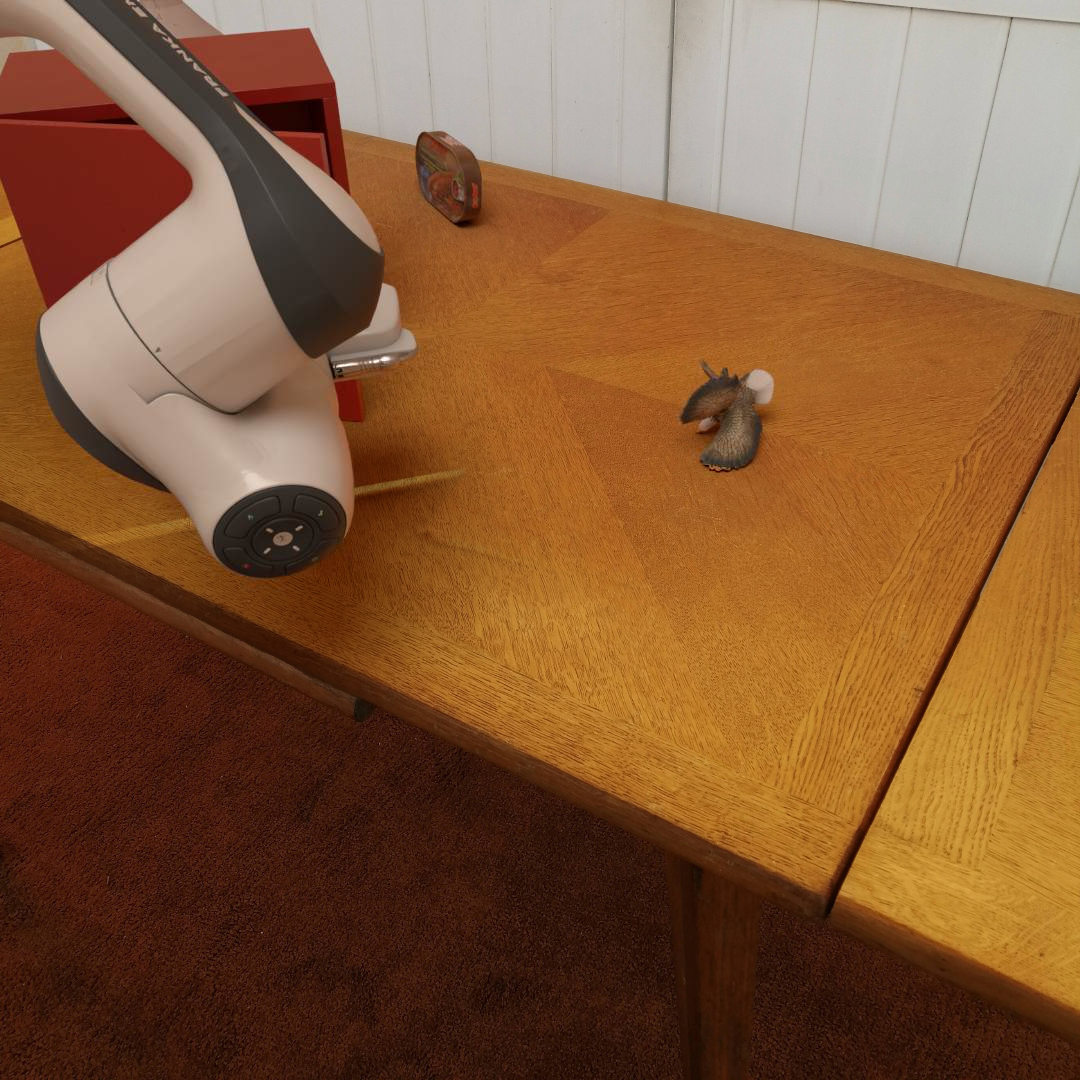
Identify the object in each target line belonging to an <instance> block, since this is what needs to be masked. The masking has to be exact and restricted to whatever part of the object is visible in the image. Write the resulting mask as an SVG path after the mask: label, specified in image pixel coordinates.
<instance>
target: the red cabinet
mask: <svg viewBox="0 0 1080 1080" xmlns="http://www.w3.org/2000/svg"><path fill="white" fill-rule="evenodd" d="M177 40H178V41H179V42H180V43H181V44H182V45H183V46H184V47H185V48H186V49H188V50H189V51H190V52H191V53H192V54H193V55H194V56H195V57H196V58H197V59H198V60H199V61H200V62H201V63H202V64H203V65H204V66H205V67H206V68H207V69H208V70H209V71H210V72H211V73H212V74H213V75H214V76H215V77H216V78H217V79H218V80H219V81H220V82H221V83H222V84H223V85H224V86H225V87H227V88H228V89H229V90H230V91H231V92H232V93H233V94H234V95H235V96H236V97H237V98H238V99H239V100H240V101H241V102H242V103H243V104H244V105H245V106H246V107H247V108H248V109H249V110H250V111H251V112H252V113H253V114H254V115H255V116H256V117H258V118H259V119H260V120H261V121H262V122H263V123H264V124H265V125H266V126H267V127H268V128H269V129H270V130H271V131H283V132H306V133H324V138H325V145H326V152H327V159H328V165H329V172H330V177H331V178H332V179H333V180H334V181H335V182H336V183H337V184H338V185H340V186H341V187H342V188H343V189H344V190H345V191H346V192H347V193H348V195H349V196H350V197H351V189H350V182H349V181H350V180H349V174H348V167H347V160H346V152H345V145H344V137H343V131H342V123H341V116H340V109H339V107H340V106H339V100H338V93H337V86H336V85H337V84H336V81H335V79H334V77H333V75H332V73H331V70H330V68H329V65H328V63H327V62H326V60H325V58H324V56H323V54H322V52H321V50H320V49H321V48H320V47H319V45H318V43H317V41H316V39H315V37H314V35H313V33H312V30H311V28H310V27H301V28H289V29H277V30H265V31H255V32H243V33H231V34H229V33H228V34H224V35H217V36H205V37H193V38H181V39H177ZM0 119H10V120H33V121H56V122H78V123H101V124H124V125H139V124H138V123H136V122H135V121H134V120H133V119H132V118H131V117H130V116H129V115H128V114H127V113H126V112H125V111H124V110H122V109H121V108H120V107H119V106H118V105H117V104H116V103H115V102H114V101H113V100H112V99H111V98H110V97H108V96H107V95H106V94H105V93H104V92H103V91H102V90H101V89H100V88H99V87H98V86H97V85H96V84H94V83H93V82H92V81H91V80H90V79H89V78H88V77H87V76H86V75H85V74H84V73H83V72H81V71H80V70H79V69H78V68H77V67H76V66H75V65H74V64H73V63H72V62H71V61H69V60H68V59H67V58H66V57H65V56H63V55H62V54H61V53H60V52H59V51H57V50H56V49H54V48H52V49H50V48H49V49H40V50H28V51H27V50H26V51H15V52H9V53H8V55H7V58H6V60H5V62H4V65H3V68H2V70H1V72H0ZM351 198H352V197H351Z"/></svg>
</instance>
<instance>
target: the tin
mask: <svg viewBox="0 0 1080 1080" xmlns="http://www.w3.org/2000/svg"><path fill="white" fill-rule="evenodd" d="M414 153H415V156H414V160H415V170H416V175H417V179H418V184H419V186H420V190H421V193H422V195H423V197H424V198H425V200H426V201H427V202H428V204H430V205H431V206H433V208H435V209H436V210H437V211H438V212H440V214H442V215H443V216H444V217H446V218H447V219H448V220H449V221H450V222H451V223H454V224H458V223H460V222H466V221H467V222H468V221H473V220H476V218H478V216H479V215H480V213H481V211H482V208H483V207H482V199H483V198H482V197H483V187H482V183H483V178H482V177H483V176H482V172H481V168H480V163H479V161H478V159H477V158H476V155H475V154H474V152H473V151H472V150H471V149H470V148H468V147H467V146H466V145H464V144H463V143H461V142H460V141H458V139H455V137H453V136H451V135H450V134H449V133H447V132H446V131H443V130H435V131H425V130H424V131H422V132H420V134H419V135H418V136H417V140H416V144H415V152H414Z"/></svg>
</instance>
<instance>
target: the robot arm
mask: <svg viewBox="0 0 1080 1080" xmlns="http://www.w3.org/2000/svg"><path fill="white" fill-rule="evenodd" d="M16 37H17V38H18V37H19V38H21V37H23V38H30V39H34V40H37V41H40V42H42V43H44V44H46V45H48V46H49V47H51V48H52V49H56V50H57V51H59V52H60V53H61V54H62V55H63V56H65V57H66V58H67V59H68V60H69V61H71V62H72V63H73V64H74V65H75V66H76V67H77V68H78V69H79V70H80V71H81V72H83V73H84V74H85V75H86V76H87V77H88V78H89V79H90V80H91V81H92V82H93V83H94V84H96V85H97V86H98V87H99V88H100V89H101V90H102V91H103V92H104V93H105V94H106V95H107V96H108V97H110V98H111V99H112V100H113V101H114V102H115V103H116V104H117V105H118V106H119V107H120V108H121V109H122V110H124V111H125V112H126V113H127V114H128V115H129V116H130V117H131V118H132V119H133V120H134V121H135V122H136V123H138V124H139V125H140V126H141V127H142V128H143V129H144V130H145V131H146V132H147V133H148V134H149V135H150V136H152V137H153V138H154V139H155V140H156V141H157V142H158V143H159V144H160V145H161V146H162V147H163V148H164V149H166V150H167V151H168V152H169V153H170V154H171V155H172V156H173V157H174V158H175V159H176V160H177V161H178V162H180V163H181V164H182V165H183V166H184V167H185V168H186V169H187V171H188V172H189V174H190V176H191V178H192V182H193V187H192V190H191V193H190V195H189V196H188V198H187V199H186V200H185V201H184V202H183V203H182V204H181V205H180V206H179V207H177V208H176V209H175V210H174V211H172V212H171V213H170V214H169V215H167V216H166V217H165V218H164V219H162V220H161V221H160V222H159V223H157V224H156V225H155V226H154V227H152V228H151V229H150V230H149V231H147V232H146V233H145V234H144V235H142V236H141V237H140V238H139V239H137V240H136V241H135V242H134V243H132V244H131V245H130V246H129V247H127V248H126V249H125V250H124V251H122V252H121V253H120V254H119V255H117V256H116V257H115V258H111V259H109V260H108V261H107V262H105V263H104V264H103V265H101V266H100V267H99V268H98V269H96V270H95V271H94V272H93V273H91V274H90V275H89V276H88V277H86V278H85V279H84V280H83V281H81V282H80V283H79V284H78V285H77V286H75V287H74V288H73V289H72V290H71V291H69V292H68V293H67V294H66V295H65V296H63V297H62V298H61V299H60V300H59V301H57V302H56V303H55V304H54V305H53V306H52V307H51V308H50V309H47V310H45V311H43V312H42V313H41V314H40V316H39V317H38V321H37V324H36V329H35V330H36V331H35V356H36V357H35V358H36V364H37V367H38V368H37V369H38V372H39V377H40V381H41V385H42V388H43V391H44V394H45V398H46V400H47V403H48V406H49V408H50V409H51V412H52V414H53V415H54V417H55V420H57V422H58V423H59V425H60V427H61V428H62V429H63V430H64V431H65V433H66V434H67V435H68V436H69V437H70V438H71V439H72V441H74V442H75V443H76V444H77V445H79V446H80V447H81V448H82V449H83V450H84V451H85V452H86V453H88V454H89V456H91V457H92V458H94V459H95V460H96V461H98V462H99V463H101V464H102V465H104V466H105V467H107V468H108V469H110V470H111V471H113V472H115V473H117V474H118V475H121V476H123V477H125V478H127V479H129V480H132V481H133V482H136V483H138V484H142V485H144V486H147V487H150V488H152V489H154V490H157V491H160V492H163V493H166V494H170V495H173V496H174V498H175V499H176V500H177V501H178V502H179V504H180V505H181V506H182V507H183V509H184V510H185V511H186V513H187V515H188V517H189V518H190V520H191V522H192V524H193V525H194V527H195V530H196V532H197V534H198V536H199V538H200V539H201V541H202V544H203V545H204V547H205V548H206V550H207V552H208V553H209V555H210V556H212V558H213V559H214V560H215V561H216V562H218V564H220V565H221V566H222V567H224V568H226V569H227V570H228V571H230V572H231V573H234V574H237V575H240V576H243V577H247V578H253V579H277V578H284V577H288V576H292V575H295V574H298V573H300V572H303V571H304V570H307V569H309V568H311V567H312V566H315V565H317V564H318V563H320V562H321V561H323V560H324V559H325V558H327V557H328V556H329V555H330V554H332V553H333V552H335V550H337V548H339V547H340V545H341V544H342V543H343V542H344V540H345V538H346V537H347V534H348V532H349V530H350V527H351V524H352V521H353V516H354V511H355V497H356V496H355V478H354V469H353V462H352V455H351V451H350V445H349V440H348V437H347V432H346V429H345V427H344V425H343V422H342V420H340V418H339V404H338V398H337V393H336V389H335V385H334V382H340V381H346V380H353V379H359V378H360V379H365V378H372V377H378V376H382V375H386V374H389V373H391V372H393V371H395V370H397V369H400V368H401V365H402V364H403V363H406V362H408V361H410V360H413V359H416V358H417V356H418V352H419V345H418V343H417V340H416V337H415V336H414V334H413V332H412V331H410V330H409V329H407V328H404V327H403V324H402V323H403V322H402V315H401V308H400V301H399V296H398V295H399V294H398V291H397V289H396V287H395V286H393V285H390V284H388V283H385V282H383V281H384V274H385V265H386V253H385V251H384V248H383V247H382V245H381V244H380V242H379V239H378V237H377V234H376V232H375V230H374V228H373V226H372V224H371V223H370V221H369V219H368V217H367V216H366V215H365V213H364V211H363V210H362V209H361V207H360V206H359V205H358V204H357V202H356V201H355V199H353V197H350V196H351V195H350V196H349V195H348V193H347V192H346V191H345V190H344V189H343V188H342V187H341V186H340V185H338V184H337V183H336V182H335V181H334V180H333V179H332V178H331V177H329V176H328V175H327V174H326V173H324V172H323V171H322V170H321V169H319V168H318V167H317V166H315V165H314V164H313V163H311V162H310V161H309V160H307V159H306V158H304V157H303V156H302V155H300V154H299V153H297V152H296V151H294V150H293V149H292V148H290V147H289V146H288V145H287V144H286V143H285V142H284V141H282V140H281V139H280V138H279V137H278V136H277V135H276V134H275V133H274V132H273V131H271V130H270V129H269V128H268V127H267V126H266V125H265V124H264V123H263V122H262V121H261V120H260V119H259V118H258V117H256V116H255V115H254V114H253V113H252V112H251V111H250V110H249V109H248V108H247V107H246V106H245V105H244V104H243V103H242V102H241V101H240V100H239V99H238V98H237V97H236V96H235V95H234V94H233V93H232V92H231V91H230V90H229V89H228V88H227V87H225V86H224V85H223V84H222V83H221V82H220V81H219V80H218V79H217V78H216V77H215V76H214V75H213V74H212V73H211V72H210V71H209V70H208V69H207V68H206V67H205V66H204V65H203V64H202V63H201V62H200V61H199V60H198V59H197V58H196V57H195V56H194V55H193V54H192V53H191V52H190V51H189V50H188V49H186V48H185V47H184V46H183V45H182V44H181V43H180V42H179V41H178V40H177V39H176V38H175V37H174V36H173V35H172V34H171V33H170V32H169V31H168V30H167V29H166V28H165V27H164V26H163V25H162V24H161V23H160V22H159V21H158V20H157V19H156V18H155V17H154V16H153V15H152V14H151V13H150V12H149V11H148V10H146V9H145V8H144V7H143V6H142V5H141V4H140V3H139V0H0V39H2V38H16Z"/></svg>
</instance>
